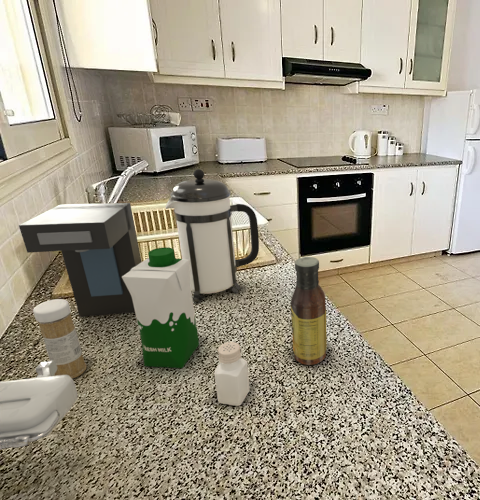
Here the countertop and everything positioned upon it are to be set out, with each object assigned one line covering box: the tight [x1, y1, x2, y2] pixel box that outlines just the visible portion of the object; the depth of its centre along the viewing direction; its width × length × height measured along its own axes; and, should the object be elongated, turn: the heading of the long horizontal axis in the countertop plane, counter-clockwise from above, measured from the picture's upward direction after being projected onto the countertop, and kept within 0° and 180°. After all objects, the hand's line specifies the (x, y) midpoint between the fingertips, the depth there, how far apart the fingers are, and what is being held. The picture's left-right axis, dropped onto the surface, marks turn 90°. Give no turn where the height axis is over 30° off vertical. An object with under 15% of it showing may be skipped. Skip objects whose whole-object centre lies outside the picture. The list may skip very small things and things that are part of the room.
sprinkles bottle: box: [32, 298, 87, 379], centre depth 62 cm, size 5×5×14 cm
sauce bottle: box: [290, 256, 328, 366], centre depth 66 cm, size 6×6×20 cm
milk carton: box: [122, 246, 200, 369], centre depth 66 cm, size 9×9×20 cm
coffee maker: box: [18, 202, 143, 318], centre depth 75 cm, size 13×14×24 cm
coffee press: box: [164, 168, 260, 304], centre depth 89 cm, size 17×16×30 cm
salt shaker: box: [213, 341, 251, 407], centre depth 58 cm, size 4×4×10 cm
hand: (10, 368), depth 50 cm, fingers open, 8 cm apart
